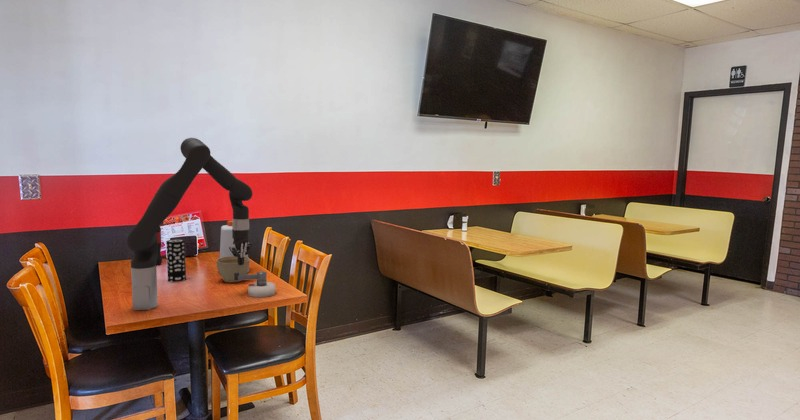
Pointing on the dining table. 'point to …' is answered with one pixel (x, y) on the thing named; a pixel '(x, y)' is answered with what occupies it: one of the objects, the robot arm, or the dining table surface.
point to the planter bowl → (231, 267)
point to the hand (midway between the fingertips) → (240, 264)
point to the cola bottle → (159, 247)
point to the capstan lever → (253, 277)
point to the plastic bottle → (227, 240)
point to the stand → (261, 290)
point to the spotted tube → (176, 260)
